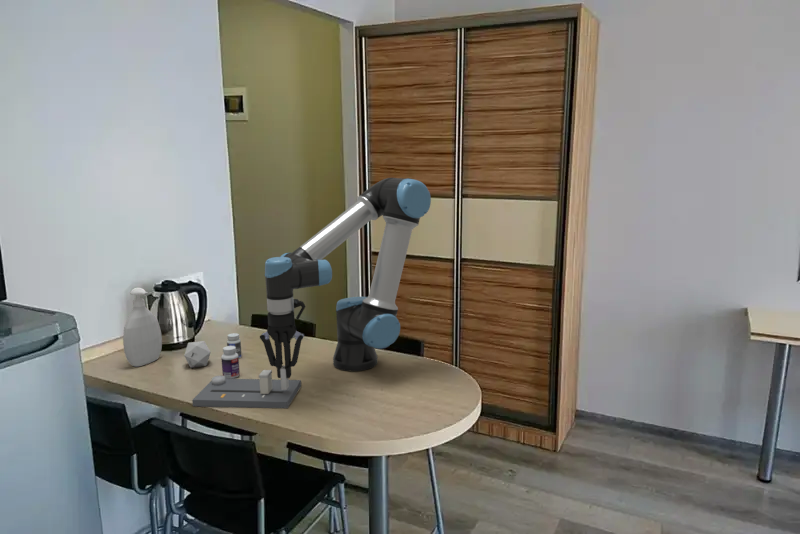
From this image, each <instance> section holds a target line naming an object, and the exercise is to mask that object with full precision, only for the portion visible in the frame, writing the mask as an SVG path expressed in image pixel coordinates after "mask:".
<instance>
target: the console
mask: <svg viewBox="0 0 800 534" xmlns="http://www.w3.org/2000/svg"><path fill="white" fill-rule="evenodd" d="M288 381H289V387H288V388H287V390H281V379H276V378H275V379H273V378H272V390H271V391H270V393H269V394H261V393H260V378H232V379H226V378H225V376H223V375H215V376H213V377H212V378H211V380H210V381H209V383H207V385H205V386H204V387H203V389H202V390H200V391H199V392H198V393H197V395H195V396H194V398H192V400H191V401H192V407H205V408H206V407H207V408H208V407H210V408H211V407H213V408H247V409H248V408H249V409H250V408H251V409H252V408H256V409H288V408H289V407H290V405H291V404H292V402H293V400H294V398H295V396H296V395H297V393H298V392H299V390H300V389H301V387H302V380H301V379H288Z"/></svg>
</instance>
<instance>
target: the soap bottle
mask: <svg viewBox="0 0 800 534" xmlns="http://www.w3.org/2000/svg"><path fill="white" fill-rule="evenodd" d="M129 294H130V295H132V296H136V298H134V299H133V300H132V304H133V305H132V306H133V308H132V309H131V312H130V313H129V314H128V316H127V318H126V322H125V324H124V327H123V336H122V337H123V339H122V341H123V342H122V344H123V352H124V355H125V359H126V360H127V362H128V363H129V365H130V366H132V367H136V368H137V367H142V366H146V365H149V364H151V363H153V362H156V361H157V360H158V359H159V358H160V355H161V351H162V346H163V338H162V331H161V327H160V324H159V320H158V318H157V317H156V316H155V314H154V313H153V312H152V311H151V310H149V309H148V308H147V307H146V301H145V299H144V298H143V297H141V295H142V296H145V295H148V294H149V291H146V290H145V289H144V288H142V287H135V288H132V289H131V291H130V292H129Z"/></svg>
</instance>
